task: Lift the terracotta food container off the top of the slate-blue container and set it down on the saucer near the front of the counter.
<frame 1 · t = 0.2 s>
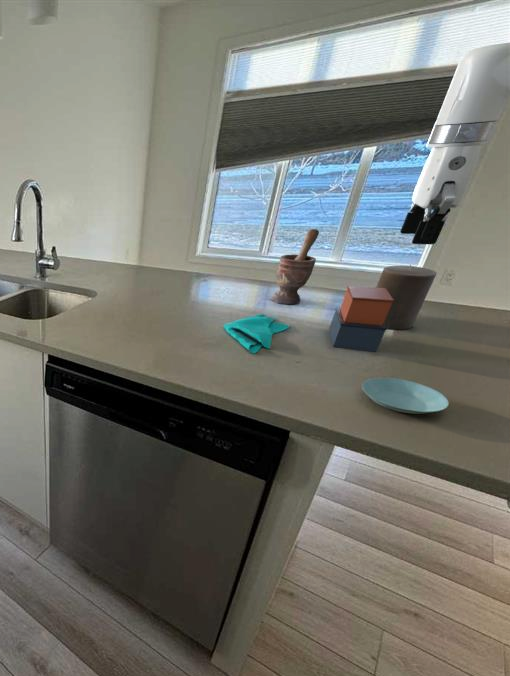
hand: (416, 238, 78), 26 cm above the worktop, tool pointing down, fingers open, 9 cm apart
pillar candle: (387, 323, 105), on the worktop
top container: (360, 317, 95), point 6 cm above the worktop, touching bottom container
saucer: (398, 404, 76), on the worktop
mortar and pestle: (285, 299, 125), on the worktop
cloth: (251, 332, 107), on the worktop
bottom container: (351, 340, 98), on the worktop, touching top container
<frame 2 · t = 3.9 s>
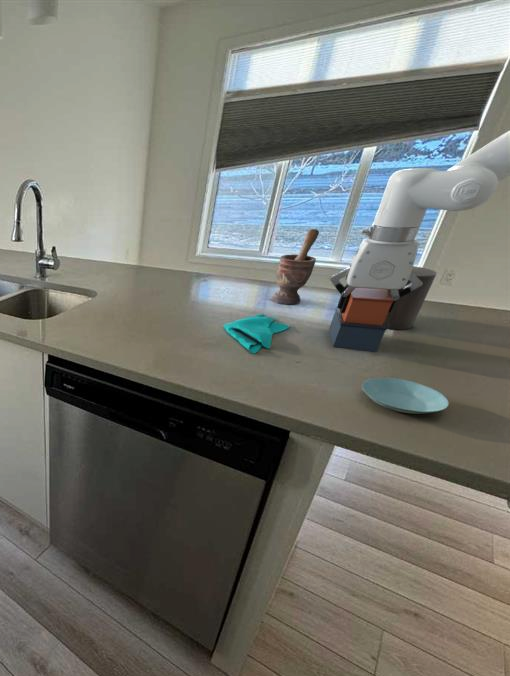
hand: (361, 312, 95), 7 cm above the worktop, tool pointing down, fingers closed on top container, 6 cm apart
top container: (360, 317, 95), point 6 cm above the worktop, touching bottom container, gripper
everything else where it was.
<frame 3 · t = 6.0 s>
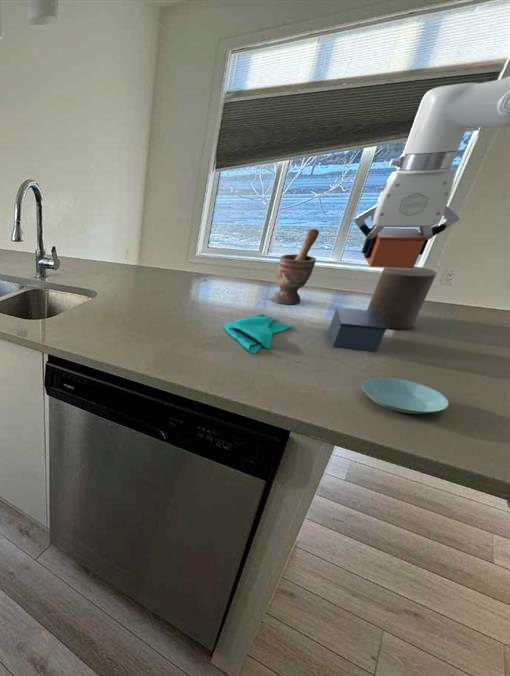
hand: (389, 256, 86), 21 cm above the worktop, tool pointing down, fingers closed on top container, 6 cm apart
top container: (387, 262, 87), point 19 cm above the worktop, touching gripper
bottom container: (351, 340, 98), on the worktop
everything else where it was.
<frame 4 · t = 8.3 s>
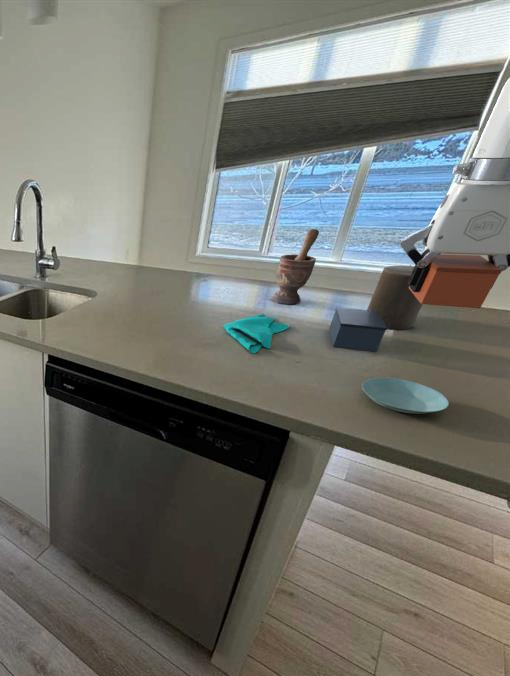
hand: (445, 290, 67), 21 cm above the worktop, tool pointing down, fingers closed on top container, 6 cm apart
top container: (441, 297, 67), point 20 cm above the worktop, touching gripper
everything else where it was.
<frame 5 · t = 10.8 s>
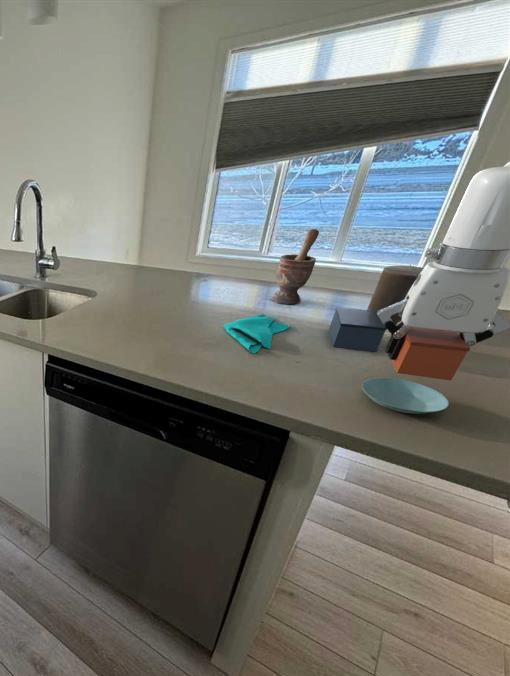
hand: (419, 359, 71), 9 cm above the worktop, tool pointing down, fingers closed on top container, 6 cm apart
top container: (416, 365, 71), point 8 cm above the worktop, touching gripper
everything else where it was.
when the fingers open (3 cm above the worktop, at t = 12.8 s): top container stays where it is, resting on saucer.
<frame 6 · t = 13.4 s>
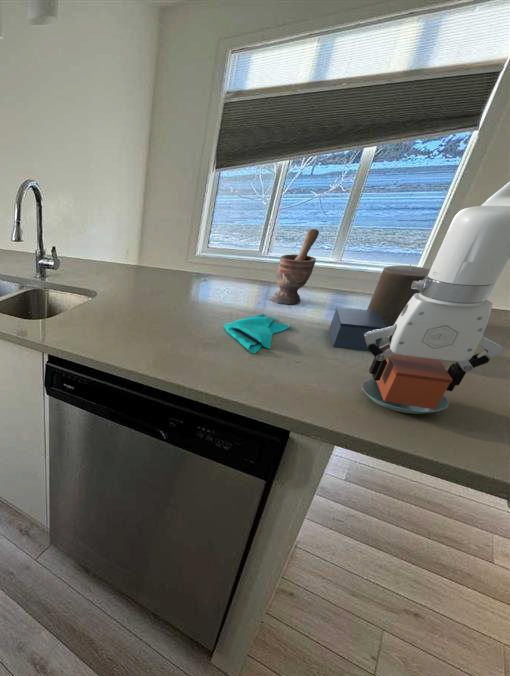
hand: (409, 382, 73), 5 cm above the worktop, tool pointing down, fingers open, 9 cm apart
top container: (403, 393, 74), point 2 cm above the worktop, touching saucer
saucer: (397, 404, 76), on the worktop, touching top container
everything else where it was.
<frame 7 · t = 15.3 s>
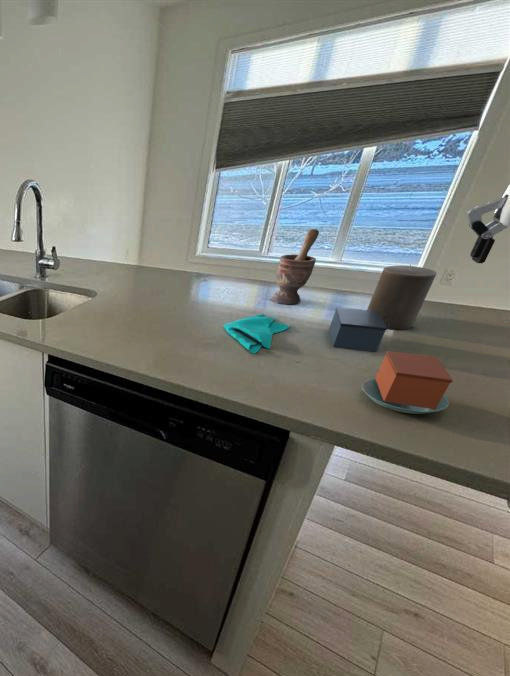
nothing on the worktop moved.
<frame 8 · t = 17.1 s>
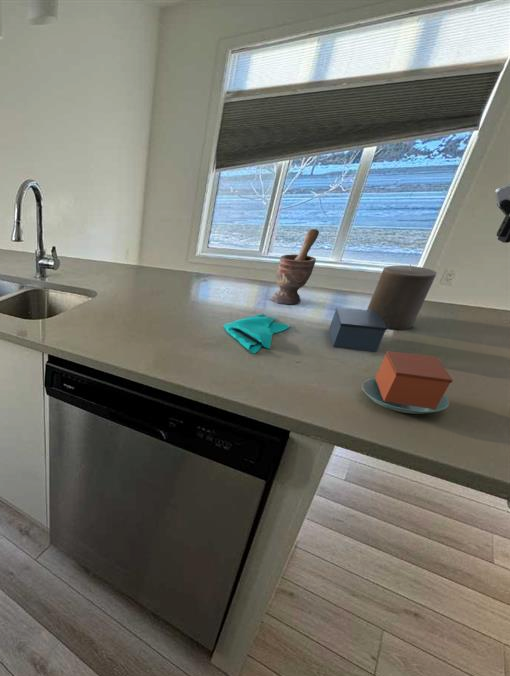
nothing on the worktop moved.
at the end: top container inside the target area on the saucer (0.1 cm from its centre), point 2.5 cm above the saucer's base; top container touching saucer; bottom container moved 0.0 cm from its start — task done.
